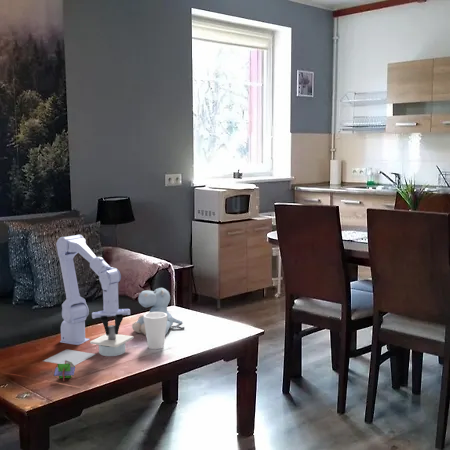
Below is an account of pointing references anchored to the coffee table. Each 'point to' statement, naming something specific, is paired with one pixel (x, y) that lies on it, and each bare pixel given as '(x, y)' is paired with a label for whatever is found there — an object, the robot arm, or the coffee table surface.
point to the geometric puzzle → (65, 370)
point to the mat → (69, 357)
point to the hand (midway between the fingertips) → (111, 334)
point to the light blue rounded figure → (155, 308)
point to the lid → (112, 338)
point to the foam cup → (155, 329)
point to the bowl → (111, 350)
